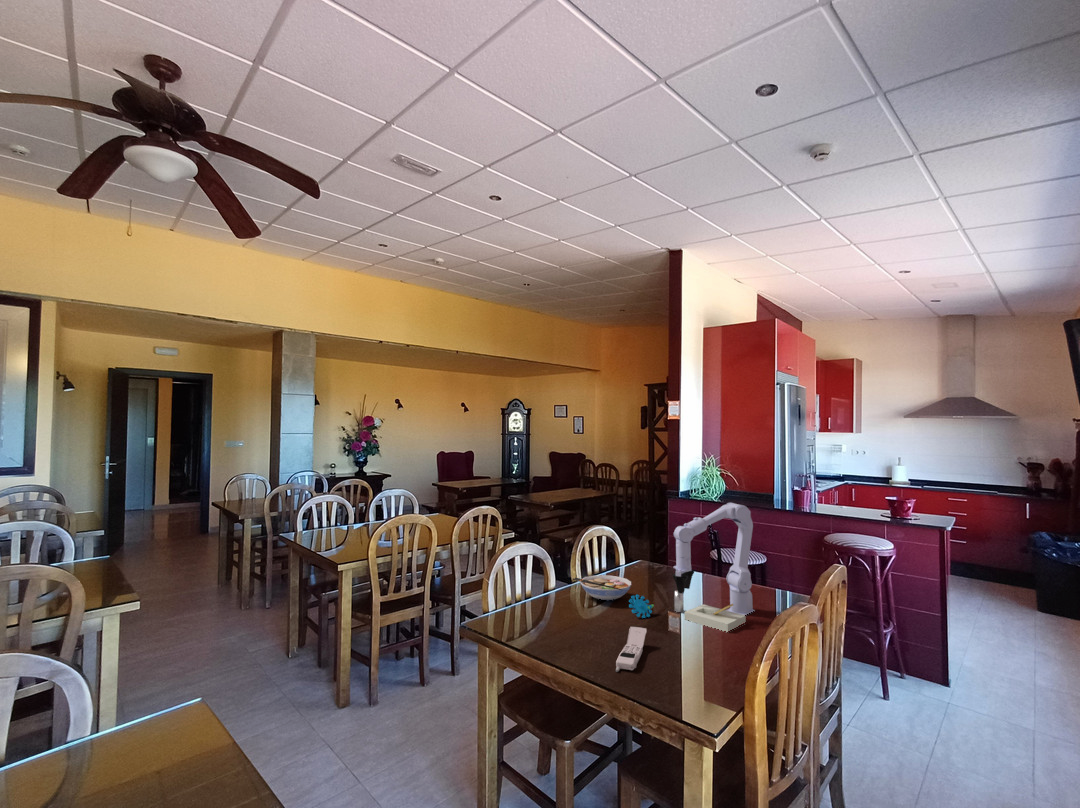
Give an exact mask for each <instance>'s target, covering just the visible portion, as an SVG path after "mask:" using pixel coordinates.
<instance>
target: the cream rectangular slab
mask: <svg viewBox="0 0 1080 808" xmlns="http://www.w3.org/2000/svg"><path fill="white" fill-rule="evenodd" d="M721 609H722V608H719V607H715V606H711V605H707V604H701V605H698V606H696V607H693V608H690V609H688V610H685V611H684V620H685V619H686V620H685V621H687V620H689V621H688V622H691V621H692V622H691V623H694V622H695V623H694V624H697V623H698V625H700V626H704V625H705V626H704V627H707V626H708V628H711V627H712V628H711V629H714V628H716V629H715V630H717V629H719V630H718V631H721V630H722V631H721V632H724V631H726V632H725V633H727V632H728V631H730V630H732V629H734V628H736V627H738V626H739V625H741V624H743V623H745V622H747V621H746V620H747V619H746V618H747V615H746V616H745V615H741V614H738V613H734V612H730V611H726V610H727V609H725V610H723V611H721V612H719V613H717V614H715V615H714V614H713V613H715V612H717V611H719V610H721ZM738 628H739V627H738ZM736 629H737V628H736ZM734 630H735V629H734ZM732 631H733V630H732ZM730 632H731V631H730ZM728 633H729V632H728Z"/></svg>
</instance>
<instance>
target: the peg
mask: <svg viewBox="0 0 1080 808" xmlns="http://www.w3.org/2000/svg"><path fill="white" fill-rule="evenodd" d="M673 593H674V597H673V598H674V599H673V600H674V612H675V611H676V612H675V613H677V612H683V613H685V611H684V610H685V609H684V608H685V607H684V604H685V603H684V593H683V594H682V593H678V590H677V589H676V590H674V592H673Z"/></svg>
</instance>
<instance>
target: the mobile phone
mask: <svg viewBox="0 0 1080 808" xmlns="http://www.w3.org/2000/svg"><path fill="white" fill-rule="evenodd" d="M646 634H647V628H646V627H645V628H644V627H638V626H630V627H629V629H628V635H627V640H626V644H625V645H624V646H623V648H622V650H621V652H620V653H619V655H618V657H617V659H616V661H615V666H616V668H615V672H616V673H618V672H620V670H627V671H628V670H629V671H634V670H635V669H636V668H637V664H638V663H639V661H640V658H641V656H642V654H643V647H644V643H645V639H646Z"/></svg>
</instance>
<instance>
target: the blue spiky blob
mask: <svg viewBox="0 0 1080 808" xmlns="http://www.w3.org/2000/svg"><path fill="white" fill-rule="evenodd" d="M640 596H641V597H640ZM630 597H631V598H629V600H628V602H629V603H630V604H628V608H630V609H631V613H632V614H635V613H636V614H635V615H636V617H637V618H639V617H640V616H641V614H642V616H641V619H643V618H645V619H646V618H647V617H648V618H649V617H651V614H652V613H653V611H652V609H653V608H654V604H652V603H651V604H649V603H650V601H649V599H646V600H645V596H644V595H639V594H636V595H631V596H630ZM639 598H640V599H639ZM645 614H646V615H645Z"/></svg>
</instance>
